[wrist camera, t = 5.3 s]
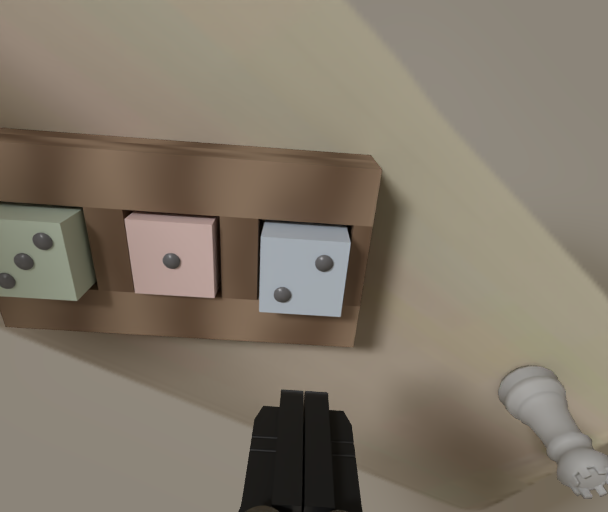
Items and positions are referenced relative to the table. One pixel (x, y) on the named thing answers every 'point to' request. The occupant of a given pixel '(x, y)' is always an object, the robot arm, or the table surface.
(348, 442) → the robot arm
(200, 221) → the one-pip button
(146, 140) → the button panel
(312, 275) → the two-pip button
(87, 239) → the three-pip button
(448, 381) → the table surface
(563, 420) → the rook chess piece
